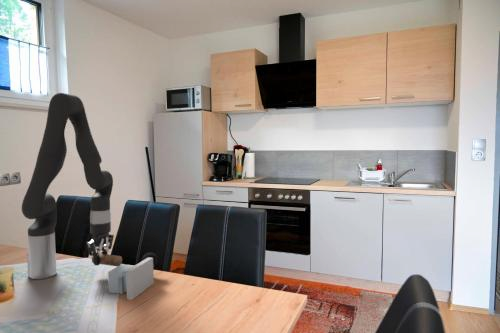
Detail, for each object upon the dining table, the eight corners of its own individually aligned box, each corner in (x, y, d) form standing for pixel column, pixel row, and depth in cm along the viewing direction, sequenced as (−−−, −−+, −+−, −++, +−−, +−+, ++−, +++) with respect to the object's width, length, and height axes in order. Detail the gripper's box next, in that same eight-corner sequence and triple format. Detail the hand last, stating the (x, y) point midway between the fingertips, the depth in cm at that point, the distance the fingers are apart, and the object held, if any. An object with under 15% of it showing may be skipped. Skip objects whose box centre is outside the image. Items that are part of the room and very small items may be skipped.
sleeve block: (108, 292, 120) (108, 271, 120) (122, 283, 128) (121, 264, 127) (122, 293, 119) (121, 273, 118) (135, 284, 126) (134, 265, 126)
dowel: (91, 264, 133) (91, 254, 133) (98, 261, 137) (98, 251, 137) (115, 267, 131) (115, 257, 130) (122, 264, 135) (122, 254, 134)
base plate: (126, 299, 115) (126, 270, 114) (148, 282, 128) (148, 257, 128) (132, 299, 114) (131, 271, 114) (153, 283, 128) (152, 257, 127)
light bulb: (155, 280, 131) (154, 255, 130) (140, 280, 131) (139, 255, 130) (159, 274, 137) (158, 250, 136) (145, 274, 137) (144, 250, 136)
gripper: (104, 216, 141) (104, 256, 142) (79, 224, 127) (79, 268, 129) (119, 217, 139) (119, 258, 141) (96, 225, 126) (96, 270, 127)
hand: (100, 262), depth 135 cm, fingers closed on dowel, 4 cm apart
